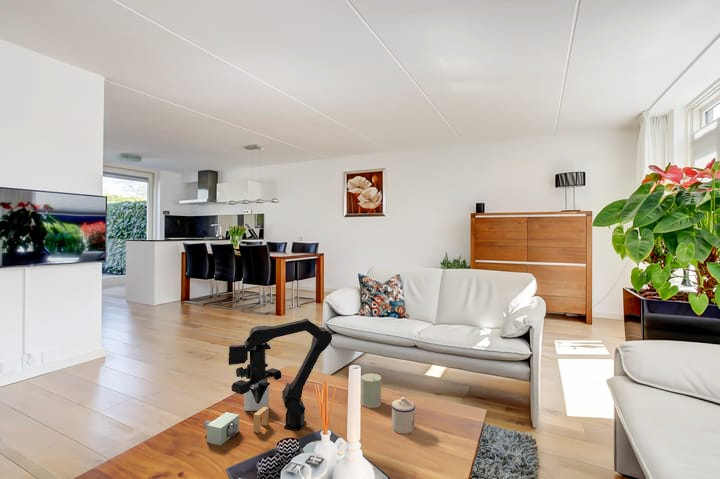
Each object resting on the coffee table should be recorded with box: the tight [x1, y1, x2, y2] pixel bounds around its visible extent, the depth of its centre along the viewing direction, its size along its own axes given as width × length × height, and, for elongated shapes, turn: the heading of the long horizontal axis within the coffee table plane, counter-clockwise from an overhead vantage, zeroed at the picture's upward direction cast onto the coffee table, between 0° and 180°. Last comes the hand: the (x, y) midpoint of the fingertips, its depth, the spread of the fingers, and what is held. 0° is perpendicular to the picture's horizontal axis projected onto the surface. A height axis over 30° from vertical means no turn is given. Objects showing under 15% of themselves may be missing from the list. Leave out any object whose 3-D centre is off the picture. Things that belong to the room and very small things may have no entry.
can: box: [360, 372, 382, 409], centre depth 154 cm, size 9×9×12 cm
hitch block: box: [206, 411, 240, 446], centre depth 127 cm, size 6×10×6 cm, turn 161°
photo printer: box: [243, 381, 270, 412], centre depth 148 cm, size 10×4×12 cm, turn 98°
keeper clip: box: [252, 407, 269, 434], centre depth 133 cm, size 2×6×6 cm, turn 161°
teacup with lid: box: [391, 396, 416, 435], centre depth 135 cm, size 12×9×12 cm
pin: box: [203, 420, 238, 438], centre depth 127 cm, size 12×4×4 cm, turn 71°
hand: (257, 403), depth 130 cm, fingers closed
